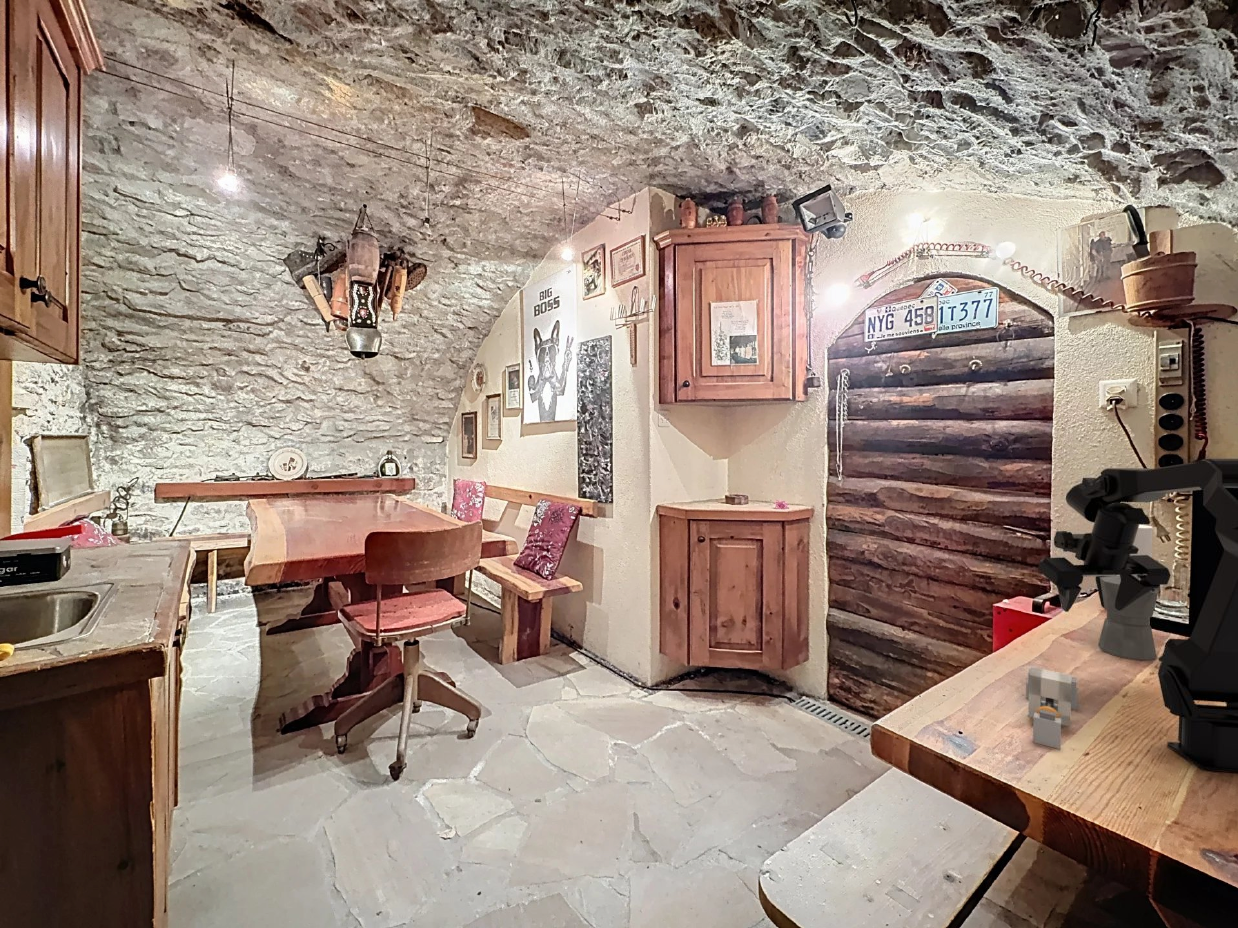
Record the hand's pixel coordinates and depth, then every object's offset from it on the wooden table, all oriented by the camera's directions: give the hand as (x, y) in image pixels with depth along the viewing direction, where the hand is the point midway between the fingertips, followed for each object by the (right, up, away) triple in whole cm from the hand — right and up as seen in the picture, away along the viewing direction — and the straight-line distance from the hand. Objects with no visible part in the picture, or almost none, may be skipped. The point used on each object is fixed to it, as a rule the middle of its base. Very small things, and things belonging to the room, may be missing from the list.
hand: (1091, 609), depth 105 cm
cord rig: (-18, -14, -14) cm, 27 cm away
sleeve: (-19, -14, -15) cm, 28 cm away
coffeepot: (+19, -13, +15) cm, 28 cm away
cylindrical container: (+29, -12, +25) cm, 40 cm away
